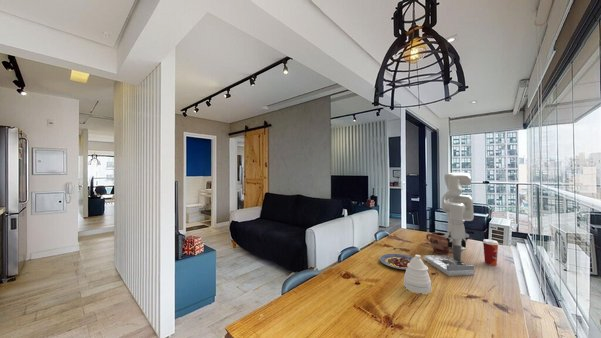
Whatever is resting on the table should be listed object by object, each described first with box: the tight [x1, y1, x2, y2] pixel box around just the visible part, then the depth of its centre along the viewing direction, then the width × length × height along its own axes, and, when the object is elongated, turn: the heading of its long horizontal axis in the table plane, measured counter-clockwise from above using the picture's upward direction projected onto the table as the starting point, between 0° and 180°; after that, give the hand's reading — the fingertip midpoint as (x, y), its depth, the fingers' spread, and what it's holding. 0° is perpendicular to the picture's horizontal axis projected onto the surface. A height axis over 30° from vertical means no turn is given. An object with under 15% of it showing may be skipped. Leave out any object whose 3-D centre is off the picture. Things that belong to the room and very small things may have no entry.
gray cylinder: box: [452, 245, 462, 262], centre depth 156 cm, size 4×4×10 cm
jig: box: [423, 254, 475, 277], centre depth 146 cm, size 24×16×5 cm, turn 4°
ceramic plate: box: [379, 253, 414, 270], centre depth 152 cm, size 26×26×3 cm
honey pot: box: [403, 254, 432, 295], centre depth 121 cm, size 13×13×18 cm
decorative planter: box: [425, 231, 453, 255], centre depth 173 cm, size 20×12×14 cm, turn 31°
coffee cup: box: [482, 238, 499, 266], centre depth 151 cm, size 8×8×15 cm
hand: (456, 247), depth 156 cm, fingers open, 9 cm apart
